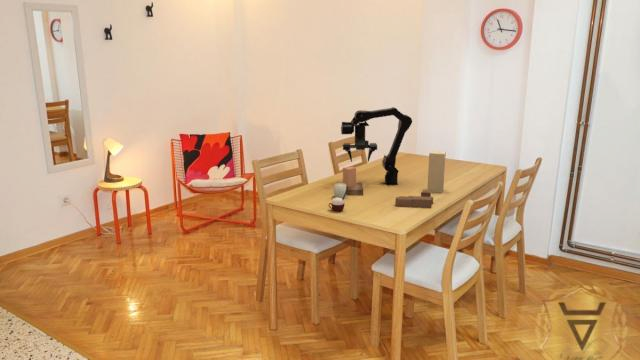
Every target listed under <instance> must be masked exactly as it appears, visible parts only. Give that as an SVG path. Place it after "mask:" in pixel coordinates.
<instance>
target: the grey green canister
mask: <svg viewBox="0 0 640 360" xmlns="http://www.w3.org/2000/svg"><path fill="white" fill-rule="evenodd" d="M333 186H334V191H333V192H334V197H333V199H334V198H341V199H343V197H344V194H345V192H346V184H345V183H343V182H336V183H334V185H333ZM345 199H347V195H345V197H344V200H345Z"/></svg>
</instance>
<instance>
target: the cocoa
mask: <svg viewBox="0 0 640 360" xmlns="http://www.w3.org/2000/svg"><path fill="white" fill-rule="evenodd" d="M348 187H349V186H347V189H348ZM347 189H346V192H347ZM346 192H345V194H344V197H345V195H346ZM346 196H347V195H346ZM344 197H343V199H341V198H334V197H333V198H332V199H331V202H330V203H328V207H329V208H330V209H331V210H333V211H334V212H338V213H339V212H342V211H343V210H344V208H345V205H346V204H345V199H344Z"/></svg>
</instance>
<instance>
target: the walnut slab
mask: <svg viewBox="0 0 640 360" xmlns="http://www.w3.org/2000/svg"><path fill="white" fill-rule="evenodd" d="M346 189H347V187H346ZM346 196H364V186H363V182H356V186H355V187H350V188H348V189H347V192H346Z"/></svg>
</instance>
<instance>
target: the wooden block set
mask: <svg viewBox="0 0 640 360" xmlns="http://www.w3.org/2000/svg"><path fill="white" fill-rule="evenodd" d="M431 194H432V192H431V190H427V189H423V190H422V191H421V192H420V195H408V196H405V195H404V196H396V197H395V202H394V203H395V204H394V205H395V207H405V208H406V207H408V208H418V207H421V209H422V208H423V209H432V204H433V203H434V196H432V195H431Z"/></svg>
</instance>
